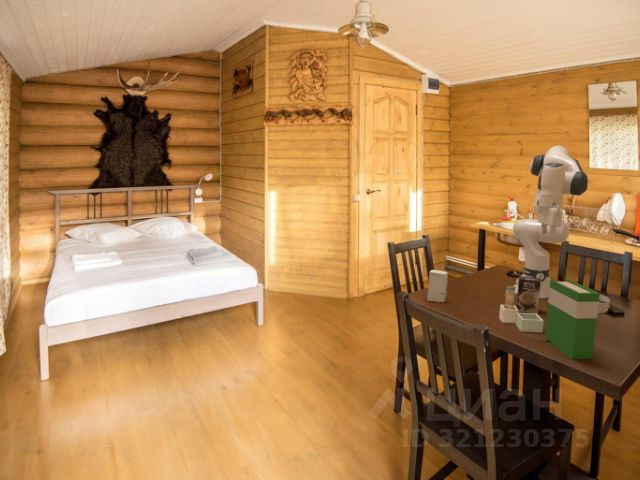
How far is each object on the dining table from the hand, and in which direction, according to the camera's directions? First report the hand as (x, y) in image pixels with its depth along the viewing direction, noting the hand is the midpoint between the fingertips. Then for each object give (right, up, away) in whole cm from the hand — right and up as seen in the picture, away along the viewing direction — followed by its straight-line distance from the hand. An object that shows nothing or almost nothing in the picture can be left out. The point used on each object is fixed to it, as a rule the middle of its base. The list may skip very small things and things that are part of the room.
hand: (547, 235), depth 186 cm
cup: (-15, -37, +5) cm, 40 cm away
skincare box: (-37, -32, +35) cm, 60 cm away
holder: (-10, -39, -4) cm, 41 cm away
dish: (+30, -34, +27) cm, 53 cm away
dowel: (-15, -36, +4) cm, 40 cm away
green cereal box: (-3, -42, -21) cm, 47 cm away
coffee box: (-1, -35, +17) cm, 39 cm away
